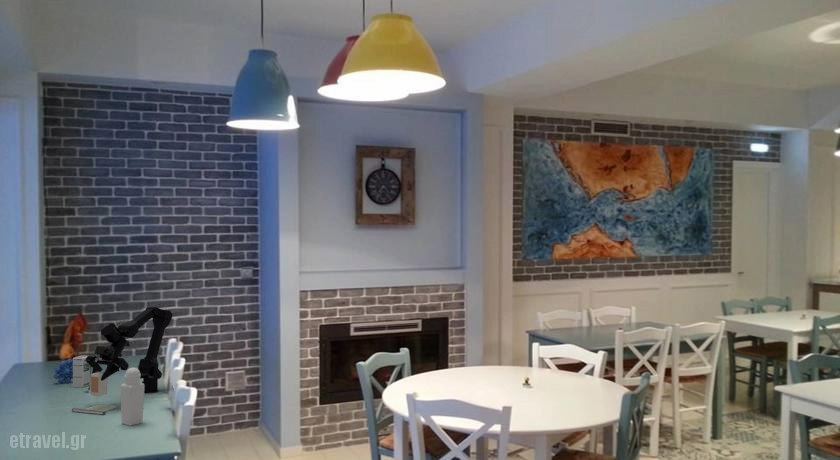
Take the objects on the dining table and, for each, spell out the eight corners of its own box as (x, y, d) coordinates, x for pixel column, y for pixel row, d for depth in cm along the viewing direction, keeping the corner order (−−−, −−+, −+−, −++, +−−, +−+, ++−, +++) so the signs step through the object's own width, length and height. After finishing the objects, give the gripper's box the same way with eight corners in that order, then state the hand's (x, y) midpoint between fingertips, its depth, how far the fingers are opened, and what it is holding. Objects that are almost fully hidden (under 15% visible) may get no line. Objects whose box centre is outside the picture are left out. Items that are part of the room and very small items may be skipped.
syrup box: (83, 387, 313) (83, 357, 313) (72, 387, 314) (72, 357, 314) (91, 385, 319) (91, 355, 319) (80, 384, 320) (81, 355, 320)
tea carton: (98, 392, 279) (98, 371, 279) (107, 393, 278) (107, 372, 278) (90, 395, 275) (90, 374, 275) (99, 396, 274) (99, 375, 274)
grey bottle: (129, 426, 254) (130, 370, 254) (119, 423, 257) (120, 368, 257) (144, 422, 259) (145, 367, 259) (134, 419, 263) (135, 365, 263)
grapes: (80, 380, 329) (80, 356, 329) (80, 383, 323) (80, 358, 323) (54, 382, 324) (54, 358, 324) (53, 385, 318) (53, 360, 318)
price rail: (105, 414, 270) (105, 411, 270) (103, 415, 268) (103, 412, 268) (74, 410, 274) (74, 408, 274) (71, 411, 273) (71, 408, 273)
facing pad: (116, 407, 280) (116, 406, 280) (99, 413, 270) (99, 412, 270) (97, 405, 283) (97, 404, 283) (79, 411, 273) (79, 410, 273)
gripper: (88, 337, 283) (68, 367, 272) (124, 339, 278) (105, 370, 267) (101, 351, 290) (82, 382, 280) (136, 354, 285) (118, 385, 275)
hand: (96, 379), depth 275 cm, fingers closed on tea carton, 5 cm apart
